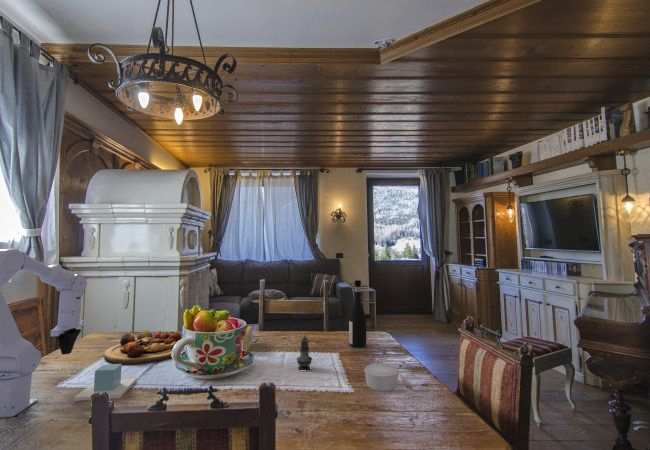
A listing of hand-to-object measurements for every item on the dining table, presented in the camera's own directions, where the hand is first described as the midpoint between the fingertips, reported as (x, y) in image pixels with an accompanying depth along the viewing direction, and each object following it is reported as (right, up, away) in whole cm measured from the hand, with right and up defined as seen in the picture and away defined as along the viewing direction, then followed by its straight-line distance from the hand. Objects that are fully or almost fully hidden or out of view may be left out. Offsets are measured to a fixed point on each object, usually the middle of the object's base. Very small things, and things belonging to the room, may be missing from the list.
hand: (66, 353), depth 104 cm
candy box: (+50, -14, +38) cm, 64 cm away
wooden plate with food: (+9, -13, +33) cm, 36 cm away
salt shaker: (+76, -12, +15) cm, 79 cm away
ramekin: (+103, -11, 0) cm, 103 cm away
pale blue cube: (+17, -8, -6) cm, 20 cm away
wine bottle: (+99, -14, +44) cm, 110 cm away
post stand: (+17, -9, -6) cm, 20 cm away
